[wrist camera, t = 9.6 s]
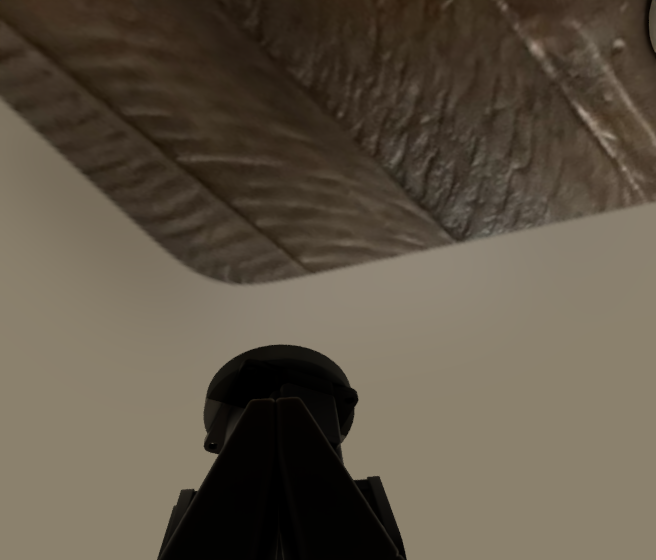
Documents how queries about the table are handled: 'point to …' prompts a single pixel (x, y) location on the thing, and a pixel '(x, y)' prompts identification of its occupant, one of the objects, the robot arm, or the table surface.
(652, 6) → the pill bottle
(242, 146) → the table surface
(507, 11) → the table surface
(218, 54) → the table surface
